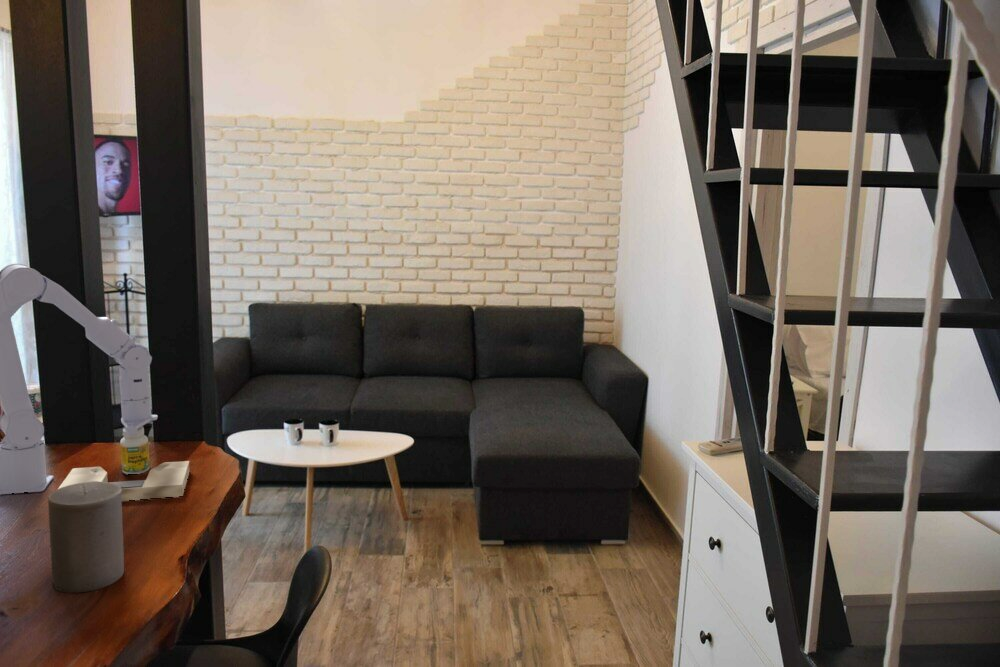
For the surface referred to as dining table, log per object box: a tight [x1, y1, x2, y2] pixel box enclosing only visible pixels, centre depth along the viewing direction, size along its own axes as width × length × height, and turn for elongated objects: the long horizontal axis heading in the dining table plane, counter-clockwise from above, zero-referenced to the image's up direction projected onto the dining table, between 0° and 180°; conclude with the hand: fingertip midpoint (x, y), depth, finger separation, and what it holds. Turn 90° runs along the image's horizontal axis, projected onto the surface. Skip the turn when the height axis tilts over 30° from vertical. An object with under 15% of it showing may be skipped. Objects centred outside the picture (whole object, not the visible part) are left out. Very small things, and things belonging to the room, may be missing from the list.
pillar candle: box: [47, 481, 125, 594], centre depth 109 cm, size 10×10×15 cm
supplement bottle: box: [119, 426, 151, 475], centre depth 153 cm, size 5×5×10 cm
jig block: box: [57, 460, 191, 502], centre depth 145 cm, size 22×14×3 cm, turn 108°
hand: (139, 457), depth 157 cm, fingers closed, pressing on supplement bottle
